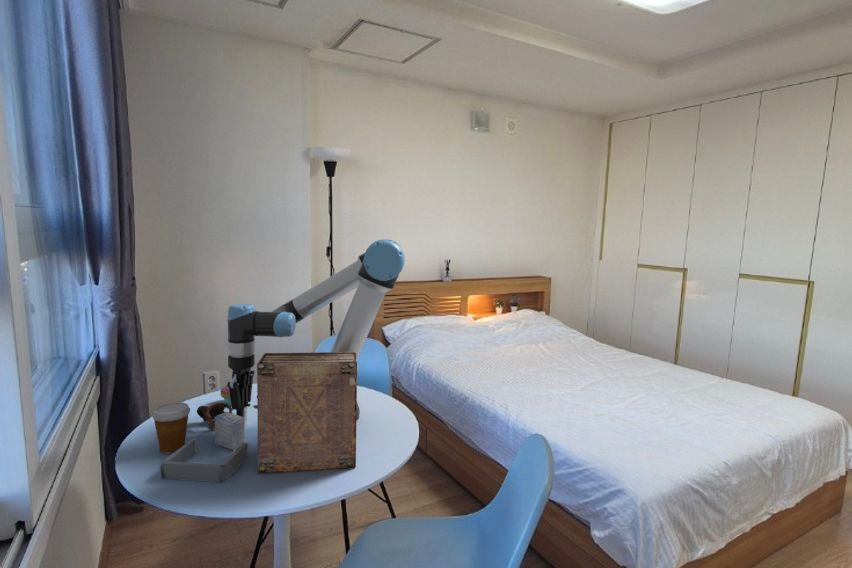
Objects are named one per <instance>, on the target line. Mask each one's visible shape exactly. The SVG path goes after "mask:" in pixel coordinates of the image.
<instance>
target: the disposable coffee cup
mask: <svg viewBox="0 0 852 568" xmlns="http://www.w3.org/2000/svg"><path fill="white" fill-rule="evenodd" d="M190 412H191V408H190V406H189V404H188V403H186V402H182V401H181V402H179V401H178V402H177V401H176V402H175V401H174V402H169V403H168V402H167V403H163V404H160V405H158V406H157V407H155V408H154V409H153V413H152V414H151V417H152V419H153V421H154V426H155V432H156V438H157V444H158V448H159V452H161V453H162V454H163V453H164V454H173V453H174V452H176V451H177V450H178V449H180V448H181V447H182V446H183V445H185V444H186V437H187V431H188V430H187V429H188V422H189V421H188V420H189V414H190Z"/></svg>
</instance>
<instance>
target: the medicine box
mask: <svg viewBox="0 0 852 568" xmlns="http://www.w3.org/2000/svg"><path fill="white" fill-rule="evenodd" d="M232 413H233V412H232ZM232 413H229V411H225V413H223V414H220V415H218V416H215V428H214V442H215V443H214V444H215V445H218V446H220V447H222V448H226V449H228V450H231V451H235V450H236V449H237V448H238V447H239V446H240V445H241V444H242V443H246V440H245V439H246V438H245V437H246V433H245V430H246V429H245V425H244V417H241V416H238V415H236V413H235V414H234V413H233V414H232Z"/></svg>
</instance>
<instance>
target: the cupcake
mask: <svg viewBox="0 0 852 568" xmlns="http://www.w3.org/2000/svg"><path fill="white" fill-rule="evenodd" d="M220 396H221V398H223V399H224V403H227V404H229V405H230V406H231V407H232V405H231V399H230V392H229V388H228V386H227V385H225V386H224V387H222V388H221V390H220Z"/></svg>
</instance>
